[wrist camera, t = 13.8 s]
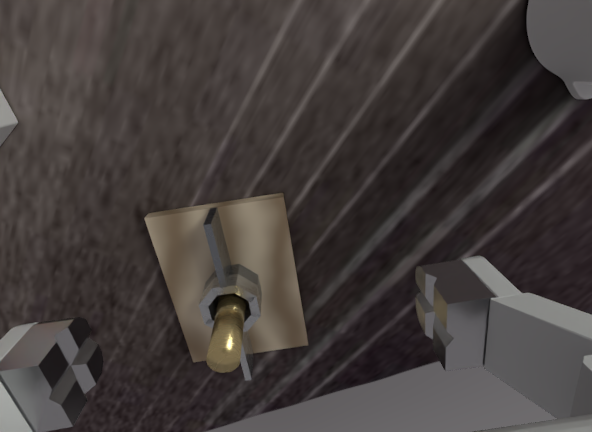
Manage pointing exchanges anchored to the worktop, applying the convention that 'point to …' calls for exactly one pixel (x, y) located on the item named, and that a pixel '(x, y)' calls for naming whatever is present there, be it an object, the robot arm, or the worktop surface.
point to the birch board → (242, 250)
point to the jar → (6, 119)
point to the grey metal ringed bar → (230, 287)
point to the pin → (227, 334)
